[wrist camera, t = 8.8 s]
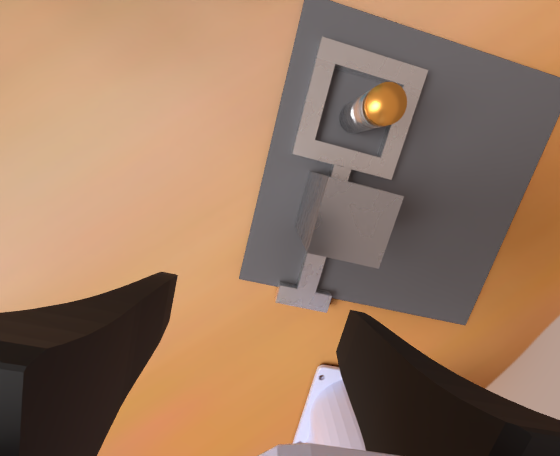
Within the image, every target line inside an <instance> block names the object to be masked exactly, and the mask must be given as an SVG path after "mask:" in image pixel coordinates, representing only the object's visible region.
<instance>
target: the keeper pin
mask: <svg viewBox="0 0 560 456" xmlns="http://www.w3.org/2000/svg"><path fill="white" fill-rule="evenodd" d="M406 107H407V96H406V93H405V91H404V90H403V88H402V87H401V86H400V85H398V84H397V83H394V82H383V83H381V84H379V85H377V86H376V87H374V88H372V89H371V90H369V91H367V92H366V93H364V94H363V95H361V96H359V97H358V98H356V99H354V100H353V101H351V102H350V103H348V104H346V105H345V106H344V107H343V109H342V110H341V112H340V116H339V121H340V125H341V127H342V128H343V129H344V130H345V131H346V132H348V133H353V134H354V133H359V132H363V131H367V130H371V129H375V128H379V127H384V126H388V125H391V124H394V123H396V122H397V121H398V120H400V119H401V117H402V116H403V115H404V113H405V111H406Z"/></svg>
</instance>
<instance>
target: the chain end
mask: <svg viewBox="0 0 560 456" xmlns="http://www.w3.org/2000/svg"><path fill="white" fill-rule="evenodd" d="M334 68H335V69H338V70H341V71H345V72H348V73H351V74H354V75H358V76H361V77H364V78H367V79H371V80H374V81H377V82H381V83H383V82H394V83H397V84H398V85H400V86H401V87H402V88H403V90H404V91H405V93H406V96H407V107H406V111H405V113H404V115H403V116H402V117H401V119H400V120H398V121H397V122H396V123H394V124H391V125H388V126H386V128H385V131H384V135H383V138H382V141H381V144H380V147H379V150H378V153H377V157H376V156H372V155H369V154H365V153H361V152H358V151H354V150H350V149H346V148H343V147H339V146H335V145H332V144H328V143H324V142H321V141H317V140H315V138H316V134H317V130H318V127H319V123H320V119H321V116H322V112H323V108H324V104H325V101H326V97H327V93H328V89H329V86H330V82H331V78H332V74H333V71H334ZM427 73H428V70H426V69H423V68H420V67H417V66H414V65H410V64H407V63H404V62H401V61H398V60H395V59H392V58H388V57H385V56H382V55H379V54H376V53H373V52H370V51H366V50H363V49H360V48H357V47H354V46H351V45H347V44H344V43H341V42H338V41H335V40H332V39H329V38H325V37H322V38H321V40H320V42H319V46H318V50H317V54H316V58H315V62H314V66H313V69H312V73H311V77H310V81H309V85H308V89H307V93H306V97H305V101H304V105H303V109H302V113H301V117H300V121H299V125H298V129H297V133H296V137H295V141H294V145H293V149H292V153H291V154H293V155H297V156H301V157H305V158H309V159H312V160H316V161H320V162H324V163H328V164H331V168H330V172H329V175H328V176H327V175H323V174H319V173H315V172H311V171H309V173H308V177H307V181H306V185H305V188H304V192H303V196H302V199H301V203H300V207H299V210H298V214H297V218H296V222H295V225H294V226H295V228H296V230H297V232H298V234H299V237H300V239H301V241H302V243H303V245H304V247H305V249H306V251H305V255H304V258H303V262H302V265H301V269H300V272H299V276H298V279H297V283H296V284H292V283H288V282H283V281H279V285H278V288H277V292H276V296H275V302H276V303H281V304H286V305H291V306H296V307H301V308H306V309H311V310H316V311H321V312H326V313H327V311H328V307H329V304H330V301H331V298H332V295H331V293H330V291H326V290H321V289H317V286H318V283H319V279H320V276H321V273H322V270H323V266H324V263H325V260H326V257H328V258H332V259H337V260H341V261H346V262H350V263H355V264H359V265H364V266H368V267H373V268H377V269H379V266H380V264H381V261H382V258H383V255H384V252H385V249H386V247H387V244H388V241H389V238H390V235H391V232H392V229H393V227H394V224H395V221H396V218H397V215H398V212H399V210H400V207H401V204H402V201H403V198H404V196H401V195H397V194H394V193H390V192H387V191H383V190H379V189H376V188H372V187H369V186H365V185H362V184H358V183H354V182H350V181H348V179H349V176H350V172H351V170H354V171H358V172H362V173H366V174H369V175H373V176H377V177H381V178H385V179H389V180H392V177H393V174H394V171H395V168H396V165H397V162H398V159H399V156H400V153H401V150H402V147H403V144H404V141H405V138H406V135H407V132H408V129H409V126H410V123H411V120H412V117H413V114H414V111H415V108H416V105H417V102H418V99H419V96H420V94H421V91H422V88H423V85H424V82H425V79H426V76H427Z"/></svg>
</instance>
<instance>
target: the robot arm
mask: <svg viewBox="0 0 560 456" xmlns="http://www.w3.org/2000/svg"><path fill="white" fill-rule="evenodd" d="M177 276H178V275H175V274H170V273H165V272H159V273H156V274H154V275H151V276H149V277H146V278H144V279H141V280H139V281H136V282H134V283H131V284H129V285H126V286H123V287H121V288H118V289H115V290H112V291H109V292H106V293H103V294H100V295H97V296H93V297H90V298H86V299H82V300H78V301H74V302H69V303H64V304H59V305H53V306H47V307H42V308H36V309H30V310H22V311H14V312H4V313H0V456H97V454H98V452H99V450H100V448H101V446H102V444H103V442H104V439H105V437H106V435H107V433H108V431H109V429H110V427H111V425H112V423H113V421H114V419H115V417H116V415H117V413H118V411H119V409H120V407H121V405H122V403H123V402H124V400H125V398H126V396H127V395H128V393H129V391H130V390H131V388H132V386H133V385H134V383H135V382H136V380H137V378H138V377H139V375H140V374H141V372H142V370H143V369H144V367H145V366H146V364H147V362H148V361H149V359H150V357H151V356H152V354H153V353H154V351H155V349H156V348H157V346H158V344H159V343H160V340H161V338H162V336H163V334H164V332H165V329H166V327H167V325H168V323H169V319H170V314H171V308H172V303H173V298H174V292H175V287H176V281H177ZM336 353H337V359H338V364H339V367H335V366H329V365H320V366H318V368H317V370H316V373H315V376H314V379H313V382H312V385H311V388H310V392H309V395H308V398H307V401H306V404H305V407H304V410H303V413H302V416H301V419H300V422H299V425H298V428H297V431H296V434H295V437H294V440H293V444H280V445H277V446H275V447H273V448H271V449H269V450H267V451H265V452H264V453H262V454H260V455H258V456H560V420H557V419H555V418H552V417H549V416H547V415H544V414H541V413H539V412H536V411H533V410H531V409H528V408H526V407H524V406H521V405H519V404H517V403H515V402H512V401H510V400H507V399H505V398H503V397H501V396H499V395H497V394H495V393H492V392H490V391H488V390H486V389H484V388H482V387H480V386H478V385H476V384H474V383H472V382H470V381H468V380H466V379H465V378H463V377H461V376H459V375H457V374H455V373H454V372H452V371H450V370H449V369H447V368H445V367H444V366H442V365H440V364H438V363H437V362H435V361H434V360H432V359H430V358H429V357H427V356H426V355H424V354H423V353H421V352H420V351H419V350H417V349H416V348H414V347H413V346H411V345H410V344H408V343H407V342H406V341H404V340H403V339H401V338H400V337H399V336H397V335H396V334H395V333H393V332H392V331H391V330H389V329H388V328H386V327H385V326H384V325H382V324H381V323H380V322H378V321H377V320H375V319H374V318H372V317H371V316H369V315H367V314H365V313H363V312H358V311H353V310H350V312H349V315H348V318H347V321H346V324H345V327H344V330H343V333H342V336H341V339H340V342H339V345H338V348H337V351H336ZM320 375H323V376H322V377H319V376H320ZM299 441H300V442H299Z"/></svg>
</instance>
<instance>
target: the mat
mask: <svg viewBox="0 0 560 456" xmlns="http://www.w3.org/2000/svg"><path fill="white" fill-rule="evenodd" d="M322 37H325V38H329V39H332V40H335V41H338V42H341V43H344V44H347V45H351V46H354V47H357V48H360V49H363V50H366V51H370V52H373V53H376V54H379V55H382V56H385V57H388V58H392V59H395V60H398V61H401V62H404V63H407V64H410V65H414V66H417V67H420V68H423V69H426V70H428V73H427V76H426V79H425V82H424V85H423V88H422V91H421V94H420V96H419V99H418V102H417V105H416V108H415V111H414V114H413V117H412V120H411V123H410V126H409V129H408V132H407V135H406V138H405V141H404V144H403V147H402V150H401V153H400V156H399V159H398V162H397V165H396V168H395V171H394V174H393V177H392V180H389V179H385V178H381V177H377V176H373V175H369V174H366V173H362V172H358V171H354V170H351V172H350V176H349V179H348V181H350V182H354V183H358V184H362V185H365V186H369V187H372V188H376V189H379V190H383V191H387V192H390V193H394V194H397V195H401V196H404V198H403V201H402V204H401V207H400V210H399V212H398V215H397V218H396V221H395V224H394V227H393V229H392V232H391V235H390V238H389V241H388V244H387V247H386V249H385V252H384V255H383V258H382V261H381V264H380V266H379V269H377V268H373V267H368V266H364V265H359V264H355V263H350V262H346V261H341V260H337V259H332V258H328V257H326V260H325V263H324V266H323V270H322V273H321V276H320V279H319V283H318V286H317V289H321V290H326V291H330V293H331V295H332V298H335V299H340V300H344V301H349V302H354V303H359V304H364V305H369V306H374V307H379V308H383V309H388V310H393V311H398V312H403V313H408V314H413V315H417V316H422V317H427V318H432V319H437V320H442V321H447V322H452V323H456V324H461V325H466V323H467V321H468V318H469V316H470V314H471V312H472V309H473V307H474V305H475V303H476V301H477V298H478V296H479V294H480V292H481V289H482V287H483V285H484V283H485V280H486V278H487V276H488V274H489V271H490V269H491V267H492V265H493V262H494V260H495V258H496V256H497V253H498V251H499V249H500V247H501V244H502V242H503V240H504V238H505V236H506V233H507V231H508V229H509V227H510V224H511V222H512V220H513V218H514V215H515V213H516V211H517V209H518V206H519V204H520V202H521V200H522V197H523V195H524V193H525V191H526V188H527V186H528V184H529V182H530V180H531V177H532V175H533V173H534V171H535V168H536V166H537V164H538V162H539V159H540V157H541V155H542V153H543V150H544V148H545V146H546V144H547V141H548V139H549V137H550V135H551V132H552V130H553V128H554V126H555V124H556V121H557V119H558V117H559V115H560V77H557V76H554V75H551V74H548V73H545V72H542V71H539V70H536V69H533V68H530V67H527V66H524V65H521V64H518V63H515V62H512V61H509V60H506V59H503V58H500V57H497V56H494V55H491V54H488V53H485V52H482V51H479V50H476V49H473V48H470V47H467V46H464V45H461V44H458V43H455V42H452V41H449V40H446V39H443V38H440V37H437V36H434V35H431V34H428V33H425V32H422V31H419V30H416V29H413V28H410V27H407V26H404V25H401V24H398V23H395V22H392V21H390V20H387V19H384V18H381V17H378V16H375V15H372V14H369V13H366V12H363V11H360V10H357V9H354V8H351V7H348V6H345V5H342V4H339V3H336V2H333V1H330V0H304V4H303V8H302V13H301V17H300V21H299V25H298V30H297V34H296V38H295V42H294V47H293V51H292V55H291V59H290V64H289V68H288V72H287V76H286V81H285V85H284V89H283V93H282V98H281V102H280V106H279V110H278V115H277V119H276V123H275V127H274V132H273V136H272V140H271V144H270V149H269V153H268V157H267V161H266V166H265V170H264V174H263V178H262V183H261V187H260V191H259V195H258V200H257V204H256V208H255V212H254V217H253V221H252V225H251V229H250V234H249V238H248V242H247V246H246V251H245V255H244V259H243V263H242V268H241V272H240V276H239V279H242V280H247V281H252V282H257V283H262V284H266V285H271V286H276V287H278V285H279V281H283V282H288V283H292V284H296V283H297V279H298V276H299V272H300V269H301V265H302V262H303V258H304V255H305V251H306V249H305V247H304V245H303V243H302V241H301V239H300V237H299V234H298V232H297V230H296V228H295V226H294V225H295V222H296V218H297V214H298V210H299V207H300V203H301V199H302V196H303V192H304V188H305V185H306V181H307V177H308V173H309V171H311V172H315V173H319V174H323V175H327V176H328V175H329V172H330V168H331V164H328V163H324V162H320V161H316V160H312V159H309V158H305V157H301V156H297V155H293V154H291V153H292V149H293V145H294V141H295V137H296V133H297V129H298V125H299V121H300V117H301V113H302V109H303V105H304V101H305V97H306V93H307V89H308V85H309V81H310V77H311V73H312V69H313V66H314V62H315V58H316V54H317V50H318V46H319V42H320V40H321V38H322ZM379 84H381V82H377V81H374V80H371V79H367V78H364V77H361V76H358V75H354V74H351V73H348V72H345V71H341V70H338V69H335V68H334V71H333V74H332V78H331V82H330V86H329V89H328V93H327V97H326V101H325V104H324V108H323V112H322V116H321V119H320V123H319V127H318V130H317V134H316V138H315V140H317V141H321V142H324V143H328V144H332V145H335V146H339V147H343V148H346V149H350V150H354V151H358V152H361V153H365V154H369V155H372V156H376V157H377V153H378V150H379V147H380V144H381V141H382V138H383V135H384V131H385V128H386V126H384V127H379V128H375V129H371V130H367V131H363V132H359V133H354V134H353V133H348V132H346V131H345V130H344V129H343V128H342V127H341V125H340V121H339V116H340V112H341V110H342V109H343V107H344V106H345V105H346V104H348V103H350V102H351V101H353V100H354V99H356V98H358V97H359V96H361V95H363V94H364V93H366V92H367V91H369V90H371V89H372V88H374V87H376V86H377V85H379Z"/></svg>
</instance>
